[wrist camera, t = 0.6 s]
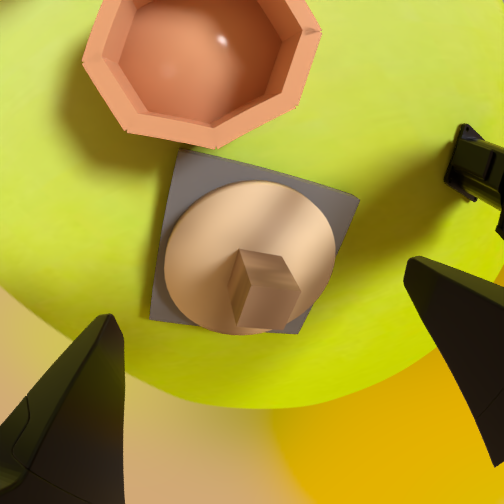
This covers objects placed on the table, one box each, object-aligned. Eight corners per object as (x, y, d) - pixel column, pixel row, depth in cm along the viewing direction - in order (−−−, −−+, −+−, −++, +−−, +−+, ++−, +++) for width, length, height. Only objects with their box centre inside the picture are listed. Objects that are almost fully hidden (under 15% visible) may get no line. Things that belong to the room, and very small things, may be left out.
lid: (352, 204, 20) (393, 236, 16) (294, 329, 25) (314, 374, 21) (184, 160, 16) (182, 184, 12) (156, 315, 21) (152, 367, 17)
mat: (352, 194, 21) (360, 199, 20) (293, 325, 27) (297, 334, 26) (179, 148, 17) (178, 151, 16) (150, 309, 23) (149, 319, 22)
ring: (306, 7, 14) (337, -12, 10) (258, 151, 18) (277, 165, 14) (145, -31, 10) (135, -61, 6) (94, 118, 15) (66, 125, 11)
